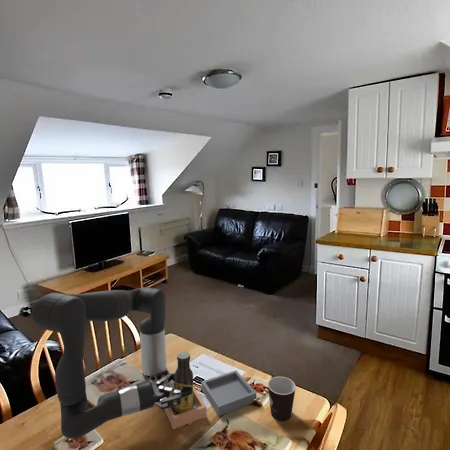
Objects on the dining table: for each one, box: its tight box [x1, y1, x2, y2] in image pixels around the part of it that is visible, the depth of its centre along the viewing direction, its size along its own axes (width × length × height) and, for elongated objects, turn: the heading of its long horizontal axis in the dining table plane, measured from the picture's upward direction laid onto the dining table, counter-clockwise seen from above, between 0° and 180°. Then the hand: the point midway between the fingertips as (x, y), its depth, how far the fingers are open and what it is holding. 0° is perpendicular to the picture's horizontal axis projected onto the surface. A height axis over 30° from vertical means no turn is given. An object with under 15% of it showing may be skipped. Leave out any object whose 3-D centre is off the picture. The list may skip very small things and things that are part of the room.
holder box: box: [163, 385, 208, 430], centre depth 104 cm, size 11×11×4 cm
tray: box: [201, 370, 257, 417], centre depth 111 cm, size 14×14×3 cm
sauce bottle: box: [173, 351, 194, 415], centre depth 103 cm, size 7×6×20 cm
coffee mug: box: [267, 375, 297, 422], centre depth 103 cm, size 12×9×10 cm
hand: (187, 381), depth 103 cm, fingers open, 8 cm apart
